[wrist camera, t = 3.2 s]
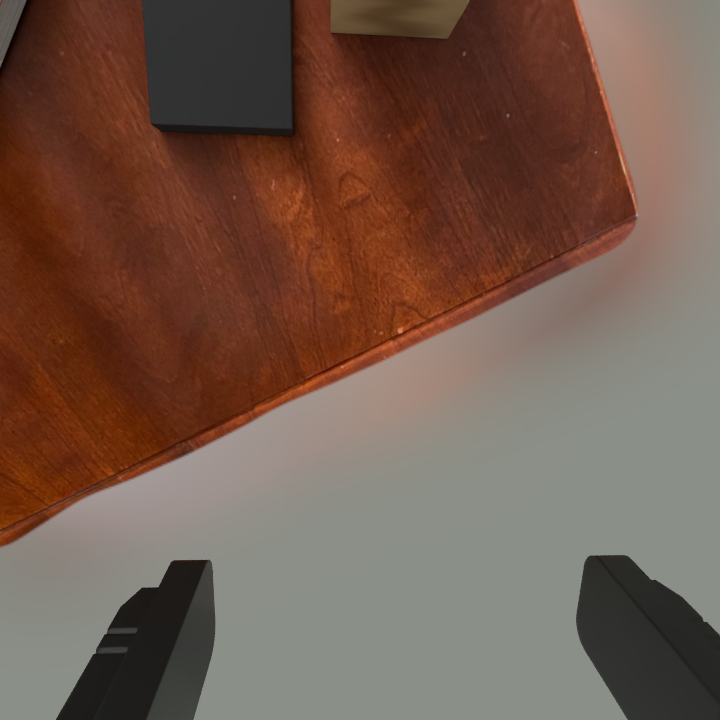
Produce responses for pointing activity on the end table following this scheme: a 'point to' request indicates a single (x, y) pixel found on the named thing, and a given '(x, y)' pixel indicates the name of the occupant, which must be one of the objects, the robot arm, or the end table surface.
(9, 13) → the picture frame
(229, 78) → the black pad
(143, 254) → the end table surface
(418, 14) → the stand
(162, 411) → the end table surface
